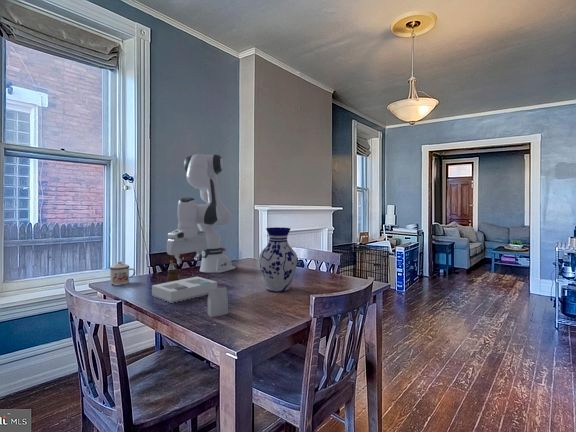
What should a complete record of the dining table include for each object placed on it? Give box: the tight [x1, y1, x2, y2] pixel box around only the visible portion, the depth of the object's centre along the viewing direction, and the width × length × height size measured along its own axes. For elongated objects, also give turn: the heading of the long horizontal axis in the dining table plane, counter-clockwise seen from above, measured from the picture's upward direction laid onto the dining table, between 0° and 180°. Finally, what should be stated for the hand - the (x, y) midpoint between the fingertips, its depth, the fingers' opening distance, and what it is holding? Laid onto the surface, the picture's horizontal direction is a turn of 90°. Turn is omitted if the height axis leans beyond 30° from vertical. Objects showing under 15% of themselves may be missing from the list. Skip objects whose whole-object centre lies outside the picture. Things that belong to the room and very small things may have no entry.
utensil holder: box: [166, 259, 180, 282], centre depth 176 cm, size 6×6×12 cm
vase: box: [258, 226, 298, 293], centre depth 166 cm, size 19×19×30 cm
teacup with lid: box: [109, 260, 136, 285], centre depth 176 cm, size 12×9×12 cm
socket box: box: [151, 276, 218, 304], centre depth 156 cm, size 24×16×5 cm, turn 139°
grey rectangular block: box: [207, 286, 229, 318], centre depth 130 cm, size 4×7×10 cm, turn 124°
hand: (188, 261), depth 159 cm, fingers open, 8 cm apart
